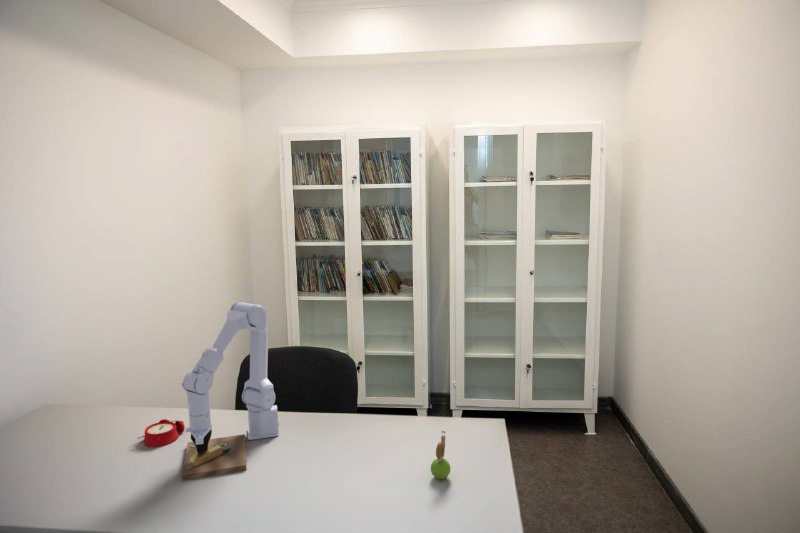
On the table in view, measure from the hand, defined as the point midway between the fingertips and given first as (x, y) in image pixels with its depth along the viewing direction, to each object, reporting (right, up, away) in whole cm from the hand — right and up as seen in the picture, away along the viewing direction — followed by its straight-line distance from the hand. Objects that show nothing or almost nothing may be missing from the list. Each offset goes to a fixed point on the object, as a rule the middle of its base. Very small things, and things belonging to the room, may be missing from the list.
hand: (203, 456), depth 155 cm
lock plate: (+3, -2, +3) cm, 4 cm away
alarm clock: (-19, 0, +17) cm, 25 cm away
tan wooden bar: (+3, 0, 0) cm, 3 cm away
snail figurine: (+69, -3, -9) cm, 69 cm away
